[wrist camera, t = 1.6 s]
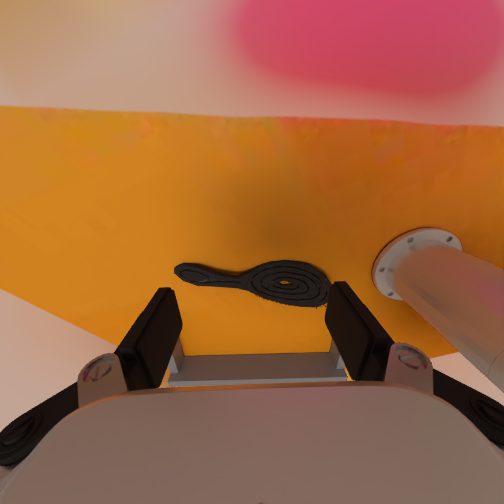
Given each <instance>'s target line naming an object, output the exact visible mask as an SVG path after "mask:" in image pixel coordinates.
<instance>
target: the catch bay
mask: <svg viewBox="0 0 504 504" xmlns="http://www.w3.org/2000/svg"><path fill="white" fill-rule="evenodd" d="M168 367H169V370H170V373H171V374H170V377H169V379H168V384H169V386H207V385H239V384H266V383H294V382H325V381H347V378H348V376H347V374H346V372H345V370H344V368H345V364H344V362H343V360H342V358H341V356H340V353H339V351H338V349H337V347H336V345H335V343H334V341H333V339H332V343H331V347H330V352H320V353H283V354H246V355H208V356H184V354H183V350H182V347H181V343H180V339H179V338H178V340H177V343H176V346H175V348H174V351H173V353H172V356H171V359H170V361H169V364H168Z"/></svg>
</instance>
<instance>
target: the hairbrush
mask: <svg viewBox="0 0 504 504" xmlns="http://www.w3.org/2000/svg"><path fill="white" fill-rule="evenodd" d="M174 273H175V274H176V275H177V276H178V277H179V278H181V279H182V280H183V281H185V282H188V283H191V284H194V285H197V286H215V287H228V288H238V289H243V290H247V291H250V292H252V293H254V294H256V295H258V296H259V297H262V298H263V299H267V300H271V301H275V302H276V303H277V302H279V303H282V304H285V305H286V304H287V305H290V306H291V305H293V306H300V307H319V306H321V305H324V304H326V303H328V298H329V292H330V287H331V283H330V281H329V279H328V278H327V276H326V275H325V274H324V273H322V272H321V271H319V270H317V269H316V268H314V267H313V266H311V265H310V264H308V263H304V262H299V261H290V260H281V261H272V262H268V263H266V264H265V263H264V264H263V265H262V264H261V266H260V265H259V267H258V266H257V267H255V268H253V269H251V270H249V271H247V272H245V273H242V274H240V275H238V276H237V275H231V274H226V273H220V272H216V271H213V270H210V269H208V268H205V267H202V266H200V265H197V264H189V263H184V264H183V263H182V264H179V265H178V266H176V267H175V268H174ZM252 278H253V279H252ZM284 280H285V281H288V282H291V283H292V284H281V283H279V282H281V281H283V282H284ZM320 280H321V281H322V282H323V283H324V285H325V288H326V292H325V288H324V286H323V284H322V282H321V281H320ZM260 281H261V282H260ZM272 281H273V283H274V284H273V283H272ZM261 283H262V285H261ZM298 283H299V284H298ZM306 283H307V284H306ZM307 285H308V286H309V287H308V286H307ZM317 285H318V286H319V288H318V287H317ZM265 287H266V288H265ZM256 295H255V296H256ZM324 306H325V305H324ZM325 307H326V306H325ZM316 309H317V308H316Z"/></svg>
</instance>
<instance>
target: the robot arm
mask: <svg viewBox="0 0 504 504" xmlns="http://www.w3.org/2000/svg"><path fill="white" fill-rule="evenodd" d="M372 278H373V282H374V285H375V286H376V288H377V289H378V290H379V291H380V292H381V293H382V294H383V295H384V296H386V297H388V298H391V299H394V300H404V301H405V302H406V303H407V304H408V305H409V306H410V307H412V308H413V309H414V310H415V311H416V312H417V313H418V314H419V315H420V316H421V317H422V318H423V319H424V320H425V321H427V322H428V323H429V324H430V325H431V326H432V327H433V328H434V329H435V330H436V331H437V332H438V333H439V334H441V335H442V336H443V337H444V338H445V339H446V340H447V341H448V342H449V343H450V344H451V345H452V346H453V347H455V348H456V349H457V350H458V351H459V352H460V353H461V354H462V355H463V356H464V357H465V358H466V359H468V360H469V361H470V362H471V363H472V364H473V365H474V366H475V367H476V368H477V369H478V370H480V372H482V373H483V374H484V375H485V376H486V377H487V378H488V379H489V380H490V381H491V382H492V383H493V384H495V385H496V386H497V387H498V388H499V389H500V390H501V391H502V392H503V393H504V269H502V268H500V267H497V266H495V265H493V264H492V263H491V262H490V261H484V260H481V259H479V258H477V257H475V256H472V255H470V254H468V253H466V252H463V251H462V245H461V243H460V241H459V239H458V238H457V237H456V236H455V235H453V234H452V233H450V232H448V231H445V230H442V229H439V228H421V229H416V230H413V231H410V232H407V233H405V234H403V235H401V236H399V237H398V238H396V239H395V240H393V241H392V242H391V243H390V244H388V245H387V246H386V247H385V248H384V249H383V251H382V252H381V253H380V254H379V256H378V258H377V259H376V261H375V264H374V267H373V271H372ZM325 323H326V326H327V328H328V330H329V332H330V334H331V336H332V338H333V341H334V343H335V345H336V347H337V349H338V351H339V353H340V356H341V358H342V360H343V362H344V364H345V366H346V368H347V371H348V373H349V375H350V377H351V379H352V380H355V381H325V382H294V383H266V384H239V385H215V386H192V387H172V388H158V387H159V386H160V385H161V382H162V379H163V377H164V374H165V371H166V369H167V367H168V364H169V361H170V359H171V356H172V353H173V351H174V348H175V346H176V343H177V340H178V338H179V335H180V333H181V330H182V325H183V324H182V319H181V315H180V311H179V308H178V304H177V300H176V296H175V292H174V290H171V288H170V287H164V288H159V289H158V290H157V292H156V293H155V295H154V296H153V298H152V299H151V300H150V302H149V303H148V305H147V306H146V308H145V309H144V311H143V312H142V313H141V314H140V315H139V317H138V318H137V320H136V321H135V323H134V324H133V326H132V327H131V328H130V330H129V331H128V333H127V334H126V336H125V337H124V339H123V340H122V342H121V343H120V345H119V346H118V348H117V349H116V351H115V352H114V353H107V354H103V355H101V356H98V357H96V358H95V359H93V360H92V361H90V362H89V363H88V364H86V365H85V367H84V368H83V369H82V370H81V372H80V373H79V375H78V380H77V382H76V383H74V384H72V385H70V386H69V387H67V388H66V389H64V390H62V391H61V392H59V393H57V394H56V395H54V396H52V397H51V398H49V399H47V400H46V401H44V402H43V403H41V404H39V405H37V406H36V407H34V408H32V409H31V410H29V411H27V412H26V413H24V414H23V415H21V416H19V417H18V418H16V419H15V420H14V421H12V422H11V423H10V424H9V425H8V426H6V427H5V428H4V429H3V430H2V431H1V432H0V504H504V406H503V405H501V404H500V403H499V402H497V401H495V400H494V399H492V398H490V397H488V396H486V395H484V394H482V393H480V392H478V391H477V390H475V389H473V388H471V387H469V386H467V385H465V384H463V383H461V382H459V381H457V380H455V379H453V378H451V377H449V376H447V375H445V374H443V373H441V372H439V371H437V370H435V369H433V367H432V363H431V361H430V359H429V358H428V357H427V356H426V355H425V354H424V353H423V352H422V351H420V350H419V349H418V348H416V347H414V346H412V345H409V344H406V343H400V342H399V343H395V342H394V341H393V340H392V338H391V337H390V336H389V335H388V333H387V332H386V331H385V330H384V328H383V327H382V326H381V325H380V323H379V322H378V321H377V320H376V318H375V317H374V316H373V314H372V313H371V312H370V311H369V309H368V308H367V307H366V306H365V305H364V304H363V303H362V302H361V300H360V299H359V298H358V297H357V295H356V294H355V293H354V291H353V290H352V289H351V288H350V286H349V285H348V284H347V283H346V282H345V281H337V282H334V284H331V287H330V292H329V298H328V303H327V308H326V313H325Z"/></svg>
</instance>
